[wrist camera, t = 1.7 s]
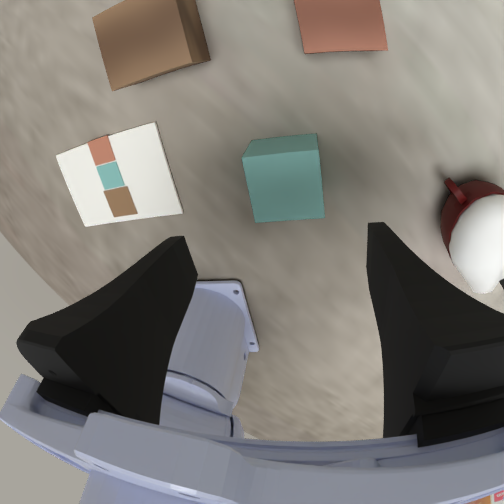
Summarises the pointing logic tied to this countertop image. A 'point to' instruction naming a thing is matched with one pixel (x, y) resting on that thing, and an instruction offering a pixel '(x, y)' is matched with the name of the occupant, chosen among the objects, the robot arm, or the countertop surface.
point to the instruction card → (121, 177)
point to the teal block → (284, 178)
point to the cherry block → (341, 25)
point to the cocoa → (475, 232)
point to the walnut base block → (149, 39)
